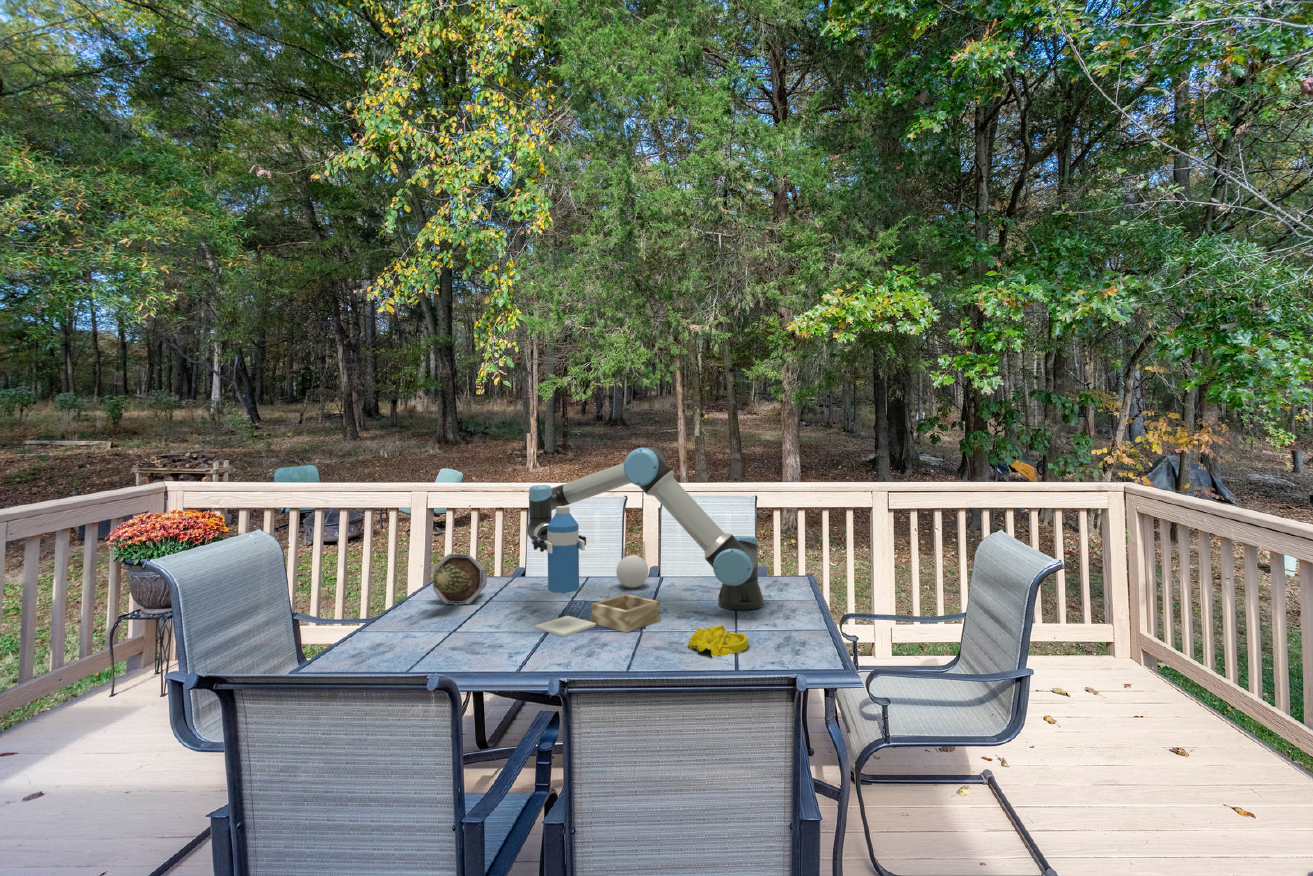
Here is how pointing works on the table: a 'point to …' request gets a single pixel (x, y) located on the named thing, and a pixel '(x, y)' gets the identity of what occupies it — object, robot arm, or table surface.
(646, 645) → the table surface
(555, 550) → the water bottle
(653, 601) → the holder collar
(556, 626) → the plate
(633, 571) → the decorative ball
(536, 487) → the robot arm
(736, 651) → the door knocker
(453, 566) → the potted plant
